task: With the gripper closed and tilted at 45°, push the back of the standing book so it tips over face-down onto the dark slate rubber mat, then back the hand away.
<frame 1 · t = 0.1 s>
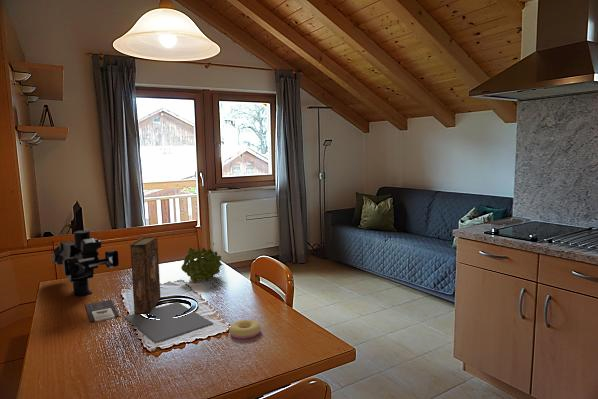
hand: (99, 267, 148), 17 cm above the table, tool horizontal, fingers open, 9 cm apart
green leafy plant: (202, 280, 185), on the table
donut: (245, 334, 132), on the table
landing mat: (167, 320, 142), on the table
chocolate bar: (101, 312, 150), on the table
book: (147, 306, 154), on the table, touching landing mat
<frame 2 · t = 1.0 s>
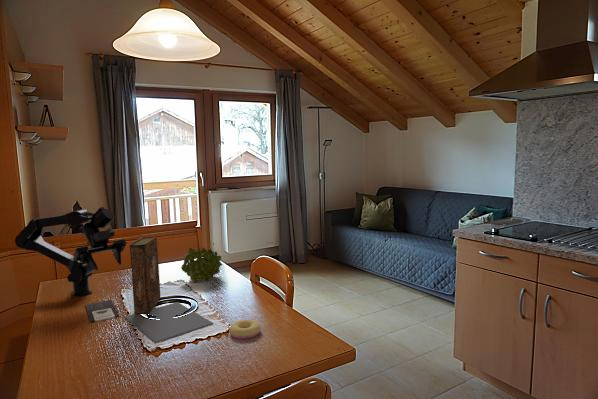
hand: (109, 266, 158), 14 cm above the table, tool tilted 45°, fingers open, 9 cm apart
nothing on the table moved.
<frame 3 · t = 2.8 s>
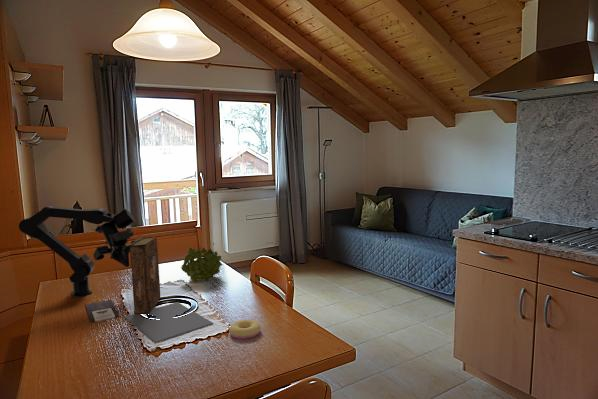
hand: (128, 266, 162), 13 cm above the table, tool tilted 45°, fingers closed
nothing on the table moved.
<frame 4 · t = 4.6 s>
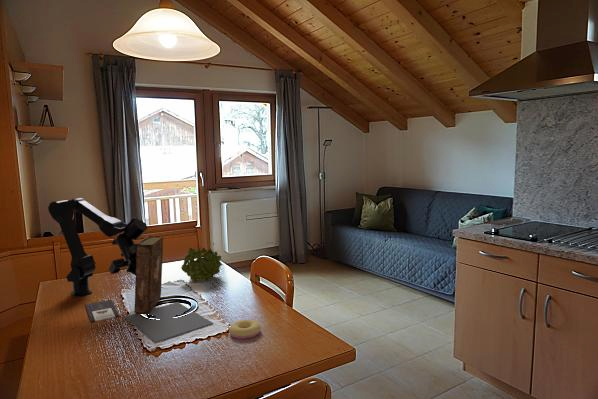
hand: (144, 279, 155), 10 cm above the table, tool tilted 45°, fingers closed
book: (147, 305, 154), on the table, touching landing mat
everything else where it was.
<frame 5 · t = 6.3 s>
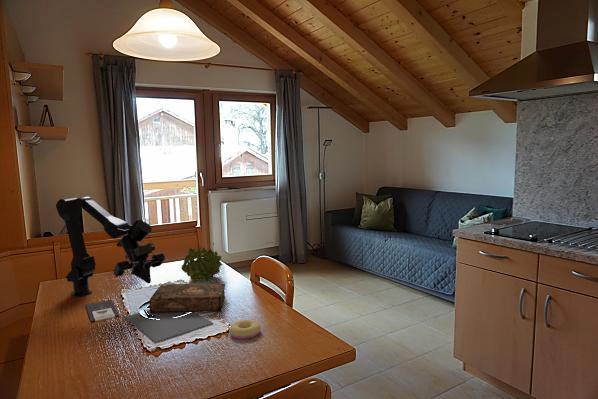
hand: (149, 282, 152), 10 cm above the table, tool tilted 45°, fingers closed
book: (155, 298, 154), point 3 cm above the table, touching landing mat
everything else where it was.
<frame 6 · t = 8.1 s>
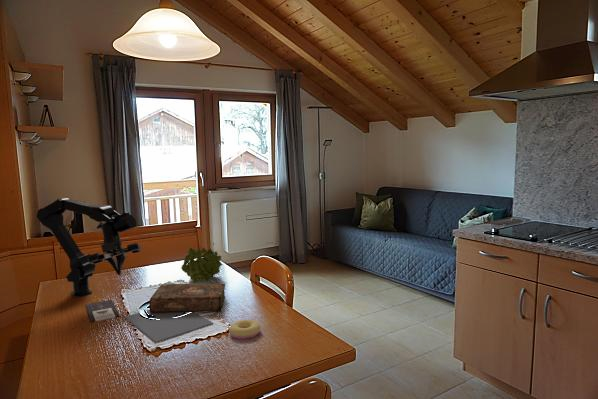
hand: (119, 274, 158), 11 cm above the table, tool tilted 25°, fingers closed
nothing on the table moved.
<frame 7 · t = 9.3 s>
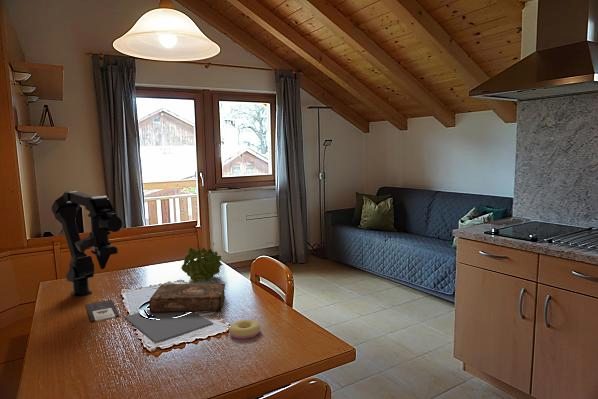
hand: (102, 269, 158), 13 cm above the table, tool pointing down, fingers closed
nothing on the table moved.
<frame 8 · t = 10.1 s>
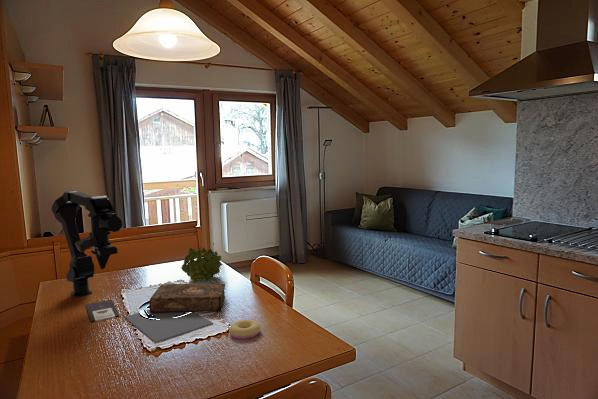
hand: (102, 269, 158), 13 cm above the table, tool pointing down, fingers closed
nothing on the table moved.
at the end: book tilted 91°; book touching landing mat, table; chocolate bar moved 0.7 cm from its start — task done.
